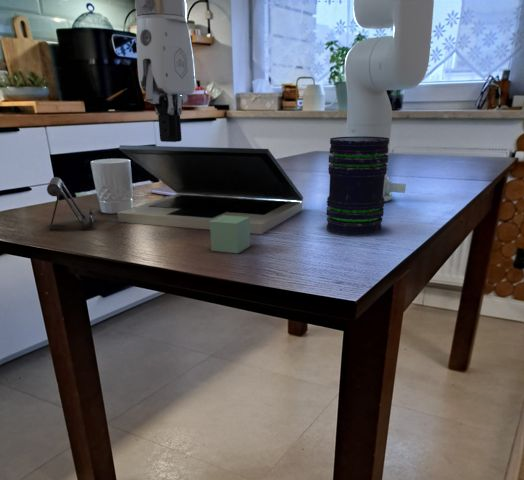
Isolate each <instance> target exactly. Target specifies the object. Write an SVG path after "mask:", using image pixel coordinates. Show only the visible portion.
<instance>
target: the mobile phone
mask: <svg viewBox="0 0 524 480" xmlns="http://www.w3.org/2000/svg"><path fill="white" fill-rule="evenodd" d="M148 191H149V193H151V194H156V195H157V194H158V195H161V196H168V197H169V196H172V195H175V194H182V193H176V192H175V191H174V190H172V189H171V188H170V187H168V186H167V185H166V186H165V185H164V186H159V187H154V188H150V189H149V190H148ZM188 195H198V194H188Z"/></svg>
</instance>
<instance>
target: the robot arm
mask: <svg viewBox="0 0 524 480" xmlns="http://www.w3.org/2000/svg"><path fill="white" fill-rule="evenodd" d="M134 4H135V5H134V6H135V12H136V13H135V15H136V61H137V62H136V63H137V74H138V82H139V87H140V89H141V90H142V91H143V92H144V93H145V101H146V102H148V103H150V104H152V105H153V106H154V110H155V114H156V116H157V118H158V119H157V121H158V131H159V140H160V142H163V143H177V142H178V143H179V142H181V141H182V140H183V139H182V125H181V122H182V121H181V115H182V111H183V108H182V106H183V104H184V103H187V102H188V99H189V98H188V95H191V94H193V93H194V92H195V90H196V74H195V73H196V72H195V61H194V53H193V52H194V51H193V46H192V39H191V34H190V30H189V24H188V19H187V17H188V16H187V1H186V0H134ZM434 5H435V0H352V10H353V19H354V21H355V24H356V25H357V26H358V27H359V28H361V29H363V30H368V31H369V30H382V29H390V28H393V35H384V36H383V35H382V36H377V37H369V38H364V39H362V40H360V41H357V42H356V43H354V45H352V46H351V48H350V49H349V50H348V52H347V54H346V57H345V60H344V79H345V85H346V98H347V99H346V104H347V105H346V127H345V137H355V136H366V137H385V138H389V144H388V153H387V154H386V155H388V157H389V156H390V155H389V154H390V143H391V133H392V132H391V131H392V122H393V108H392V104H391V101H390V97H389V95H388V92H387V91H404V90H412V89H414V88H416V87H418V86H419V85H420V84H421V83H422V81H423V80H424V79H425V77H426V74H427V71H428V68H429V63H430V55H431V44H432V31H433V20H434V19H433V18H434V7H435V6H434ZM385 164H387V168H388V166H389V162H388V163H385ZM390 179H391V177H390V176H388V172H387V173H386V175H385V178H384V189H383V198H384V203H385V202H388V201H391V200H392V199H393V193H397V194H399V193H400V194H405V193H406V189H407V184H406V183H402V182H396V183H395V182H392V181H390Z"/></svg>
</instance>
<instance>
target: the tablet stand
mask: <svg viewBox="0 0 524 480" xmlns="http://www.w3.org/2000/svg"><path fill="white" fill-rule="evenodd" d="M46 192H47V194H48V195H49V196H51V197H56V199H55V200H56V201H55V205H54V209H53V213H52V217H51V221H50V225H49V228H48V230H49V231H51V230H52V227H53V224H54V220H55V216H56V212H57V209H58V208H57V207H58V204H59V200H60V196H62V197H63V198H64V200H65V201H66V203H67V205H68V206H69V208H70V210H71V211H72V213H74V215H75V217H76V218H77V220H78V221H79V222H80V224H81V226H82V228H83V229H85V230H88V231H89V230H92V229H93V227H94V212H93V210H92V208H89V210H88V211H89V213H87V214H85V213H84V212H82V209H81V208H80V207H79V205H78V203H77V202H76V201H75V199H74V197H73V196H72V194H71V193H70V191H69V189H68V188H67V187H66V185H65V182H64V181H62V179H61V178H60V177H57V176H54V177H52V178H51V179H50V181H49V183H48V185H47V187H46ZM66 194H67V195H66ZM75 208H76V209H75ZM79 214H80V215H79Z"/></svg>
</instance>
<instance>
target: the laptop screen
mask: <svg viewBox="0 0 524 480" xmlns="http://www.w3.org/2000/svg"><path fill="white" fill-rule="evenodd" d="M118 150H119V151H121V152H122V153H123V154H125V155H126V156H127V157H128V158H130V159H131V160H132V161H134V162H135V163H136V164H138V165H139V166H140V167H141V168H143V169H144V170H146V171H147V172H148V173H149V174H151V175H152V176H153V177H155V178H156V179H157V180H159V181H160V182H161V183H163V184H164V185H166V186H168V187H170V188H171V189H172V190H174V191H175V192H176V193H182V194H198V195H205V196H221V197H237V198H253V199H270V200H286V201H302V202H303V201H304V196H303V195H302V194H301V192H300V190H298V188H297V186H296V185H295V184H294V182H293V181H292V180H291V178H290V177H289V175H288V174H287V172H286V171H285V170H284V169H283V167H282V166H281V164H280V163H279V161H278V160H277V159H276V158H275V156H274V155H273V154H272V152H271V150H270V149H269V148H248V147H211V146H210V147H208V146H207V147H206V146H173V145H172V146H171V145H167V146H166V145H165V146H164V145H132V144H131V145H128V144H119V147H118Z"/></svg>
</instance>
